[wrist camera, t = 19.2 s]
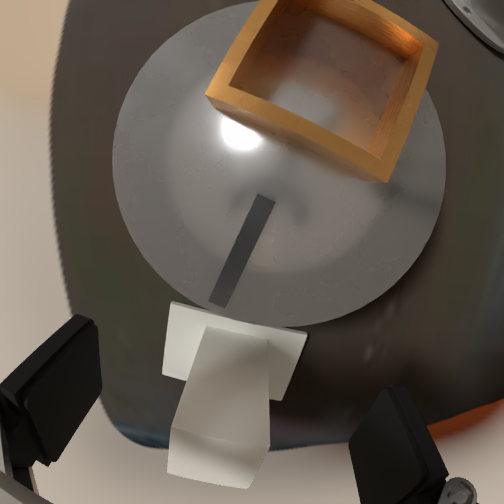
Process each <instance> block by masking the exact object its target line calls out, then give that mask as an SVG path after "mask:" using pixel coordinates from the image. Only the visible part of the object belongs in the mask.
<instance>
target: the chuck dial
mask: <svg viewBox="0 0 504 504" xmlns="http://www.w3.org/2000/svg"><path fill="white" fill-rule="evenodd" d="M438 46H439V43H438V42H436V41H435V40H434V39H432V38H431V37H429V36H428V35H427V34H425V33H424V32H422V31H421V30H419V29H418V28H416V27H415V26H413V25H412V24H410V23H409V22H407V21H406V20H404V19H402V18H401V17H399V16H398V15H396V14H394V13H393V12H391V11H389V10H387V9H386V8H384V7H382V6H380V5H379V4H377V3H375V2H373V1H371V0H260V1H257V2H248V3H243V4H239V5H235V6H231V7H227V8H224V9H221V10H218V11H216V12H213V13H211V14H208V15H206V16H204V17H202V18H200V19H198V20H196V21H195V22H193V23H191V24H189V25H187V26H186V27H184V28H183V29H182V30H180V31H179V32H177V33H176V34H175V35H173V36H172V37H171V38H169V39H168V40H167V41H166V42H165V43H164V44H163V45H162V46H161V47H160V48H159V49H158V50H157V51H156V52H155V53H154V54H153V55H152V56H151V57H150V59H149V60H148V61H147V62H146V64H145V65H144V66H143V68H142V69H141V70H140V72H139V73H138V75H137V76H136V78H135V80H134V82H133V83H132V85H131V87H130V89H129V90H128V93H127V95H126V97H125V100H124V102H123V105H122V107H121V110H120V113H119V117H118V121H117V125H116V129H115V134H114V142H113V152H112V164H113V180H114V186H115V192H116V198H117V201H118V204H119V207H120V211H121V214H122V217H123V220H124V222H125V224H126V226H127V228H128V231H129V233H130V235H131V237H132V239H133V241H134V242H135V244H136V245H137V247H138V248H139V250H140V252H141V253H142V255H143V256H144V258H145V259H146V260H147V261H148V262H149V264H150V265H151V266H152V267H153V268H154V270H155V271H156V272H157V273H158V274H159V275H160V276H161V277H162V278H163V279H164V280H165V281H166V282H167V283H169V284H170V285H171V286H172V287H173V288H174V289H175V290H177V291H178V292H180V293H181V294H182V295H184V296H185V297H187V298H188V299H190V300H191V301H192V302H194V303H196V304H198V305H200V306H202V307H204V308H206V309H207V310H209V311H211V312H213V313H216V314H219V315H221V316H224V317H227V318H230V319H232V320H236V321H240V322H245V323H249V324H254V325H262V326H272V327H293V326H304V325H310V324H316V323H321V322H325V321H328V320H332V319H335V318H338V317H341V316H344V315H346V314H348V313H350V312H353V311H355V310H357V309H359V308H361V307H363V306H364V305H366V304H368V303H369V302H371V301H373V300H374V299H376V298H378V297H379V296H380V295H382V294H383V293H384V292H385V291H387V290H388V289H389V288H390V287H392V286H393V285H394V284H395V283H396V282H397V281H398V280H399V279H400V278H401V277H402V276H403V275H404V274H405V273H406V272H407V271H408V269H409V268H410V267H411V266H412V264H413V263H414V262H415V260H416V259H417V257H418V256H419V255H420V253H421V252H422V250H423V248H424V246H425V245H426V243H427V241H428V239H429V237H430V235H431V233H432V231H433V228H434V226H435V223H436V221H437V218H438V215H439V212H440V208H441V204H442V200H443V196H444V188H445V179H446V153H445V146H444V139H443V133H442V129H441V125H440V122H439V118H438V115H437V112H436V109H435V107H434V105H433V102H432V100H431V98H430V95H429V93H428V91H427V90H426V88H425V87H426V84H427V81H428V78H429V75H430V72H431V69H432V66H433V62H434V59H435V56H436V53H437V49H438Z"/></svg>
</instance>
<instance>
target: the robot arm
mask: <svg viewBox="0 0 504 504" xmlns="http://www.w3.org/2000/svg"><path fill="white" fill-rule="evenodd" d="M444 1H445V3H446V4H447V5H448V6H449V7H450V8H451V10H452V11H453V12H454V13H455V14H456V15H457V17H458V18H459V19H460V20H461V21H462V22H463V23H464V24H465V25H466V26H467V27H468V28H469V29H470V30H471V31H472V32H473V33H475V34H476V35H477V36H478V37H479V38H480V39H482V40H483V41H484V42H485V43H486V44H488V45H489V46H491V47H492V48H494V49H495V50H497V51H499V52H501V53H503V54H504V0H444ZM101 390H102V378H101V368H100V356H99V340H98V327H97V326H96V325H94V321H93V320H92V319H90V318H87V317H84V316H82V315H79V314H76V315H74V316H73V317H72V318H71V319H70V320H69V321H68V322H66V323H65V324H64V325H63V326H62V327H61V328H59V329H58V330H57V331H56V332H55V333H54V334H53V335H52V336H51V337H49V338H48V339H47V340H46V341H45V342H44V343H43V344H42V345H40V346H39V347H38V348H37V349H36V350H35V351H34V352H33V353H32V354H31V355H30V356H29V357H27V358H26V359H25V361H23V362H22V363H21V364H20V365H19V366H18V367H17V368H16V369H15V370H14V371H13V372H12V373H11V374H10V375H9V376H8V377H7V378H6V379H5V380H4V381H3V382H2V383H1V384H0V504H53V503H51V502H49V501H48V500H46V499H44V498H42V497H41V496H39V493H38V489H37V485H36V482H35V478H34V474H33V470H32V466H33V464H34V462H35V461H36V460H37V461H39V462H40V463H42V464H44V465H45V466H49V465H50V463H51V462H56V461H57V460H58V459H59V457H60V455H61V454H62V452H63V451H64V449H65V447H66V446H67V444H68V443H69V441H70V440H71V438H72V436H73V435H74V433H75V432H76V430H77V429H78V427H79V425H80V424H81V422H82V421H83V419H84V418H85V416H86V415H87V413H88V412H89V410H90V409H91V407H92V406H93V404H94V403H95V401H96V400H97V398H98V397H99V395H100V393H101ZM349 451H350V455H351V460H352V464H353V469H354V474H355V478H356V483H357V488H358V492H359V497H360V502H361V504H478V503H477V502H476V501H477V493H476V490H475V488H474V486H473V485H472V484H471V483H470V482H469V481H468V480H466V479H464V478H460V477H455V478H452V479H450V480H449V481H447V482H446V480H445V478H446V477H447V476H448V475H449V473H448V471H447V469H446V467H445V464H444V462H443V460H442V458H441V456H440V453H439V451H438V449H437V447H436V445H435V443H434V441H433V439H432V437H431V435H430V433H429V430H428V429H427V426H426V424H425V422H424V420H423V418H422V416H421V414H420V413H419V411H418V409H417V407H416V405H415V403H414V401H413V399H412V397H411V395H410V393H409V391H408V390H407V388H406V387H405V386H403V385H388V386H387V387H386V388H385V389H383V390H382V391H381V392H380V394H379V395H378V397H377V398H376V400H375V402H374V403H373V405H372V407H371V408H370V410H369V411H368V413H367V414H366V416H365V417H364V419H363V420H362V422H361V423H360V425H359V426H358V428H357V429H356V431H355V432H354V434H353V435H352V436H351V438H350V440H349Z"/></svg>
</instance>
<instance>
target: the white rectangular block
mask: <svg viewBox="0 0 504 504" xmlns="http://www.w3.org/2000/svg"><path fill="white" fill-rule="evenodd" d="M269 448H270V423H269V384H268V351H267V339H265V338H260V337H255V336H251V335H246V334H242V333H237V332H233V331H228V330H224V329H220V328H216V327H212V326H207V325H206V328H205V331H204V333H203V336H202V339H201V342H200V345H199V348H198V350H197V353H196V356H195V359H194V362H193V365H192V368H191V370H190V373H189V376H188V379H187V382H186V385H185V388H184V391H183V394H182V396H181V399H180V402H179V405H178V408H177V411H176V414H175V417H174V420H173V423H172V426H171V433H170V444H169V455H168V466H167V473H169V474H173V475H177V476H181V477H185V478H189V479H194V480H198V481H203V482H208V483H213V484H219V485H224V486H230V487H236V488H244V489H248V488H249V486H250V484H251V482H252V480H253V479H254V477H255V475H256V473H257V471H258V469H259V467H260V466H261V463H262V462H263V460H264V458H265V456H266V454H267V452H268V450H269Z"/></svg>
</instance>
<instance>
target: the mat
mask: <svg viewBox="0 0 504 504" xmlns="http://www.w3.org/2000/svg"><path fill="white" fill-rule="evenodd" d="M206 325H207V326H212V327H216V328H220V329H224V330H228V331H233V332H237V333H242V334H246V335H251V336H255V337H260V338H265V339H267V351H268V384H269V399H273V400H279V401H282V399H283V396H284V394H285V391H286V389H287V387H288V384H289V382H290V379H291V377H292V374H293V372H294V369H295V367H296V364H297V362H298V359H299V356H300V354H301V351H302V349H303V346H304V343H305V341H306V338H307V332H303V331H298V330H293V329H288V328H283V327H272V326H262V325H254V324H249V323H245V322H240V321H236V320H232V319H230V318H227V317H224V316H221V315H219V314H216V313H213V312H211V311H209V310H205V309H201V308H197V307H193V306H189V305H185V304H182V303H178V302H174V301H172V302H171V305H170V312H169V320H168V327H167V335H166V343H165V352H164V361H163V371H162V374H163V375H167V376H170V377H174V378H177V379H181V380H185V381H187V379H188V376H189V373H190V370H191V368H192V365H193V362H194V359H195V356H196V353H197V350H198V348H199V345H200V342H201V339H202V336H203V333H204V331H205V328H206Z"/></svg>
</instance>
